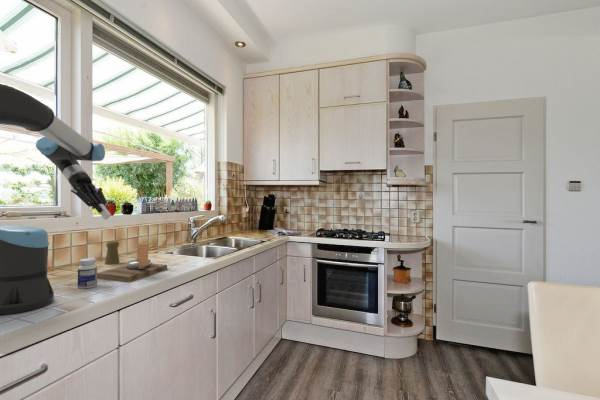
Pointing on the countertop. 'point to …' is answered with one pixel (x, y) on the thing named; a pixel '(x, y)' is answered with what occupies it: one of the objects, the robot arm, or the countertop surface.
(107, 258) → the olive flared column
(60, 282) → the countertop surface
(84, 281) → the pill bottle
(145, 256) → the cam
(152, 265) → the wooden board
